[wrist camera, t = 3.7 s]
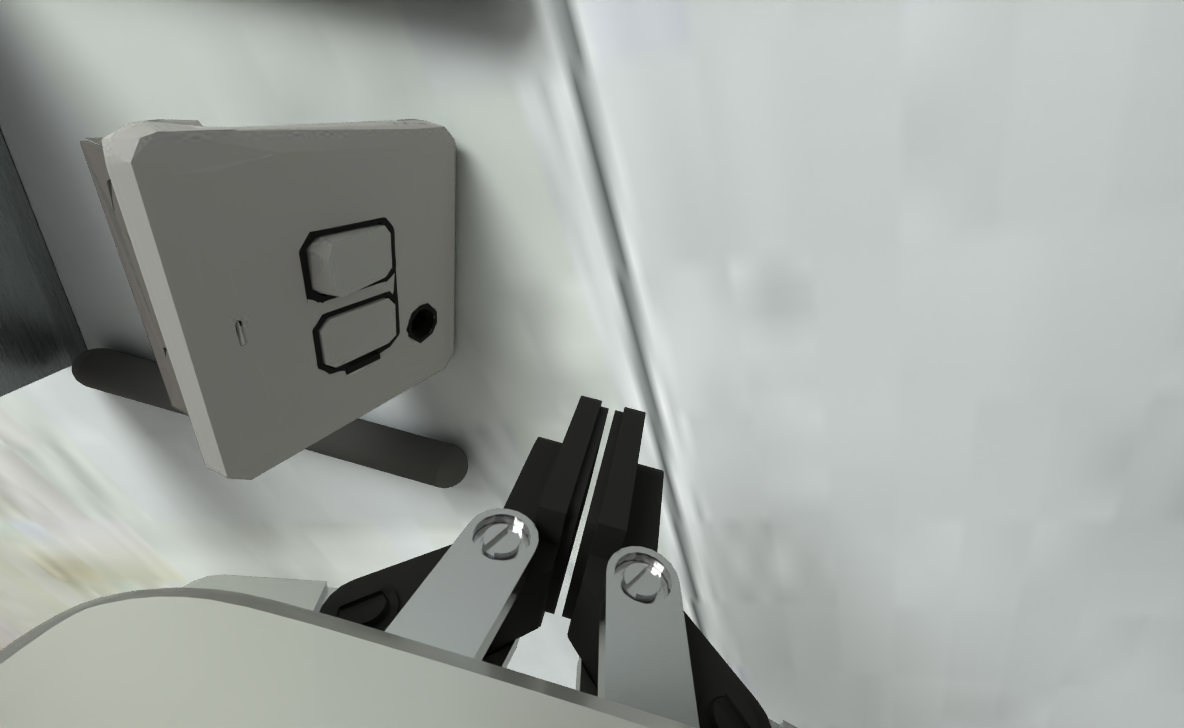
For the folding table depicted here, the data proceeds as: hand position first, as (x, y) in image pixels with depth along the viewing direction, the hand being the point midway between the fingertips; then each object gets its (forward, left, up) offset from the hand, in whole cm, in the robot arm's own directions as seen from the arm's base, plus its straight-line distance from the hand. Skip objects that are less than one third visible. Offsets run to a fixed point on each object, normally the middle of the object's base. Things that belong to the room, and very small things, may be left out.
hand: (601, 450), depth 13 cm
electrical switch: (+10, -1, -8) cm, 13 cm away
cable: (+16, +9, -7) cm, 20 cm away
